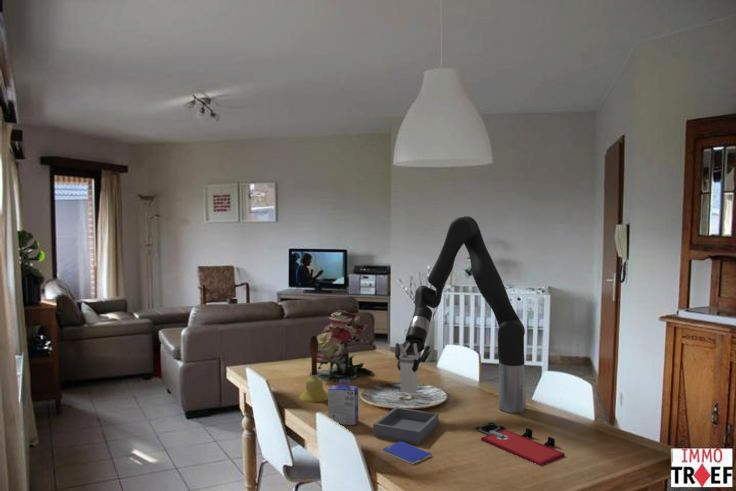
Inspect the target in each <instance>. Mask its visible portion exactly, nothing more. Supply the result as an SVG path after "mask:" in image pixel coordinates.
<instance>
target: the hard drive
mask: <svg viewBox="0 0 736 491" xmlns="http://www.w3.org/2000/svg"><path fill="white" fill-rule="evenodd" d="M382 452H383V453H385V454H386V455H389V454H390V455H389V456H391V455H392V457H394V456H395V458H396V457H397V458H396V459H398V458H399V460H401V461H403V460H404V461H403V462H405V461H406V462H405V463H408V464H410V463H411V465H412V464H414V465H416V464H418V463H420V462H422V461H424V460H426V459H425V458H427V459H429V458H431V457H432V453H431V452H428V451H426V450H424V449H421V448H418V447H416V446H414V445H412V444H410V443H409V444H408V443H407V442H402V441H398V442H395V443H393V444H390V445H388V446H386V447H383V448H382ZM428 457H429V458H428ZM421 460H422V461H421ZM419 461H420V462H419ZM417 462H418V463H417ZM415 463H416V464H415Z"/></svg>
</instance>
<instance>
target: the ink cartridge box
mask: <svg viewBox="0 0 736 491" xmlns="http://www.w3.org/2000/svg"><path fill="white" fill-rule="evenodd" d="M343 382H344V383H343ZM327 393H328V399H327V400H328V401H327V402H328V405H327V406H328V408H327V410H328V411H327V414H328V417H329V418H331V419H333V420H334V421H336V422H338V423H340V424H339V425H345V426H346V425H348V426H356V424H357V423H358V422H359V386H356V385H350V381H349V380H341V379H339V380H338V384H337V385H331V386H330V387H329V388H327ZM328 417H327V418H328Z"/></svg>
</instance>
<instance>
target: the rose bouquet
mask: <svg viewBox="0 0 736 491" xmlns="http://www.w3.org/2000/svg"><path fill="white" fill-rule="evenodd" d="M360 318H361V316H359V315H356V314H354V313H351V312H348V311H346V310H341V309H338V310H336V311H333V313H331V314H330V317H328V319H329V321H330V324H329V325H326V326H324V328H323V330H322V331H321V332H320V333H319V334H317V335H316V336H317V340H318V353H317V364H320V365H319V366H317V376H318V377H319V378H321V379H322V381H323V380H326V381H332V382H335V383H337V381H339V379H341V380H349V382H352V381H353V379H357V378H360V377H361V376H360V375H357V372H364V373H367V374H368V373H369V375H375V373H374V371H373V370H370V369H369V368H368V369H367V368H366V367H364V364H365V363H364V362H360V363H359V364H354V363H353V359H354V357H355V355H351V356H350V355H349V354H350V353H349V351H348V345H349V344H348V343H351V344H352V343H369V341H368V340H366V339H362V338H359V336H360V335H361V333H362V332H363V331H364V330H366V328H367V326H368V325H367V324H361V325H360V324H359V322H360ZM328 364H329V365H330V366H329V368H328V369H325V370H324V369H322V367H321V366H323V365H328ZM334 365H335V366H334ZM362 367H364V368H362ZM311 375H312V371H311V372H309V378H310V377H311Z"/></svg>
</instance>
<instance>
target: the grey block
mask: <svg viewBox="0 0 736 491" xmlns="http://www.w3.org/2000/svg"><path fill="white" fill-rule="evenodd" d="M415 360H416V359H415V356H413V357H412V356H408V357H402V358H401V359H400V370H399V376H400V377H399V378H400V382H399V383H400V386H399V387H400V392H401V393H406V394H407V393H408V394H414V393H416V392H417V391H418V370H417V371H416V372H413V370H412V367H413V364H414V361H415Z"/></svg>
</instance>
